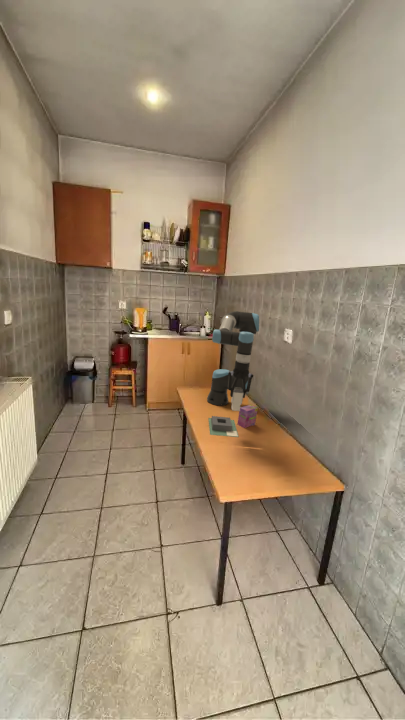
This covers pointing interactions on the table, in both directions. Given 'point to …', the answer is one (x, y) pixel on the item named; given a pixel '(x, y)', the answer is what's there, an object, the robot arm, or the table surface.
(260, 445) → the table surface
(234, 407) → the plug
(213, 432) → the board
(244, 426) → the box
